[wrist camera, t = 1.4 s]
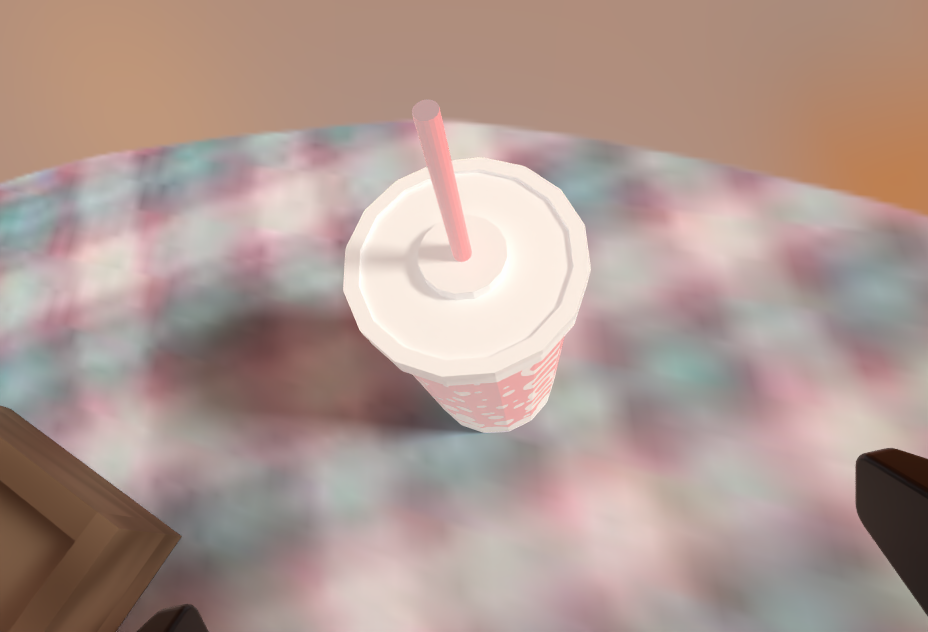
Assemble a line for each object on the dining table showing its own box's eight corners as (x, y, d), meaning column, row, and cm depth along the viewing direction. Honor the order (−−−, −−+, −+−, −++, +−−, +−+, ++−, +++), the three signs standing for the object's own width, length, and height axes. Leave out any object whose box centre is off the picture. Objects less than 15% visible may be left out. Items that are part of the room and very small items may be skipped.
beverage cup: (476, 489, 21) (368, 350, 8) (384, 361, 23) (194, 102, 11) (609, 387, 22) (695, 119, 9) (507, 273, 24) (466, -62, 12)
